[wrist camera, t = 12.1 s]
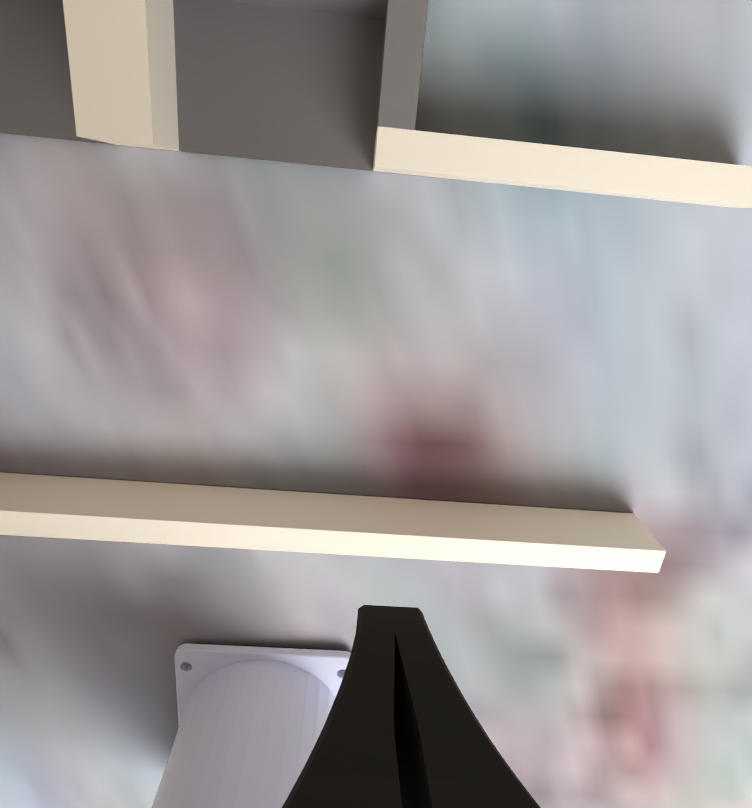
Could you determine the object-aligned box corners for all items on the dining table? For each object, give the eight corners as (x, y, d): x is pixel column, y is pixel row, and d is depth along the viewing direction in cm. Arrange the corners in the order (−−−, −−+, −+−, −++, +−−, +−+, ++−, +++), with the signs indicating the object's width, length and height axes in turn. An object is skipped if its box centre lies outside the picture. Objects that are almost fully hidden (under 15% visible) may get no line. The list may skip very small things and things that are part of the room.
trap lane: (627, 533, 22) (673, 591, 19) (-255, 478, 20) (-373, 532, 17) (786, 29, 16) (896, -13, 13) (-492, -129, 14) (-756, -229, 10)
